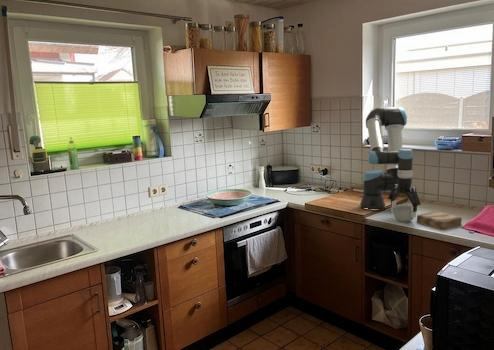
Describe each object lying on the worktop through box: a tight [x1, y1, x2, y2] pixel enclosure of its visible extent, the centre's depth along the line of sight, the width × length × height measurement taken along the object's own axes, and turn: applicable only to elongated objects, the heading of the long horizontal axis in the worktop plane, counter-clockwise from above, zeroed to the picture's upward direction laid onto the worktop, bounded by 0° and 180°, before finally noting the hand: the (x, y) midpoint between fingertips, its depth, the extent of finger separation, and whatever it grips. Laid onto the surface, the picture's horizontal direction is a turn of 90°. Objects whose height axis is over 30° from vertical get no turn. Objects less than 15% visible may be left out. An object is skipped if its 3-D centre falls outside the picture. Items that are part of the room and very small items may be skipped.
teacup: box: [393, 204, 414, 223], centre depth 232 cm, size 14×11×8 cm
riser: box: [416, 210, 463, 231], centre depth 224 cm, size 16×15×4 cm
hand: (403, 214), depth 231 cm, fingers open, 13 cm apart
